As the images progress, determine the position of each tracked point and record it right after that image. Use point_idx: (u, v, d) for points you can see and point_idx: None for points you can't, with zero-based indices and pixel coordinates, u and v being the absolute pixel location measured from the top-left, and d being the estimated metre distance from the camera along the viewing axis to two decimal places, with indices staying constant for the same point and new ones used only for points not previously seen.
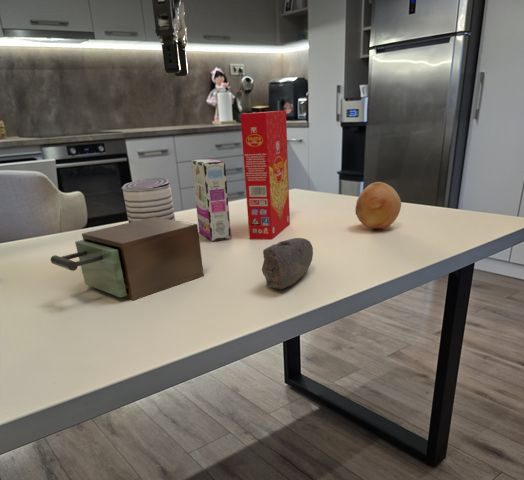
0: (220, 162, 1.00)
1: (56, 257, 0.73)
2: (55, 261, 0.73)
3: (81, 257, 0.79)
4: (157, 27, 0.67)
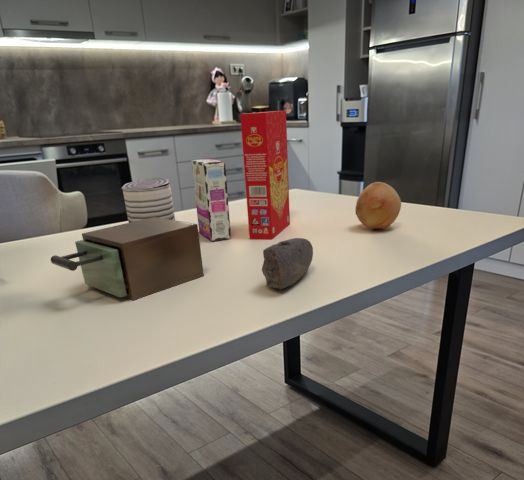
0: (220, 162, 1.00)
1: (56, 257, 0.73)
2: (55, 261, 0.73)
3: (81, 257, 0.79)
4: None
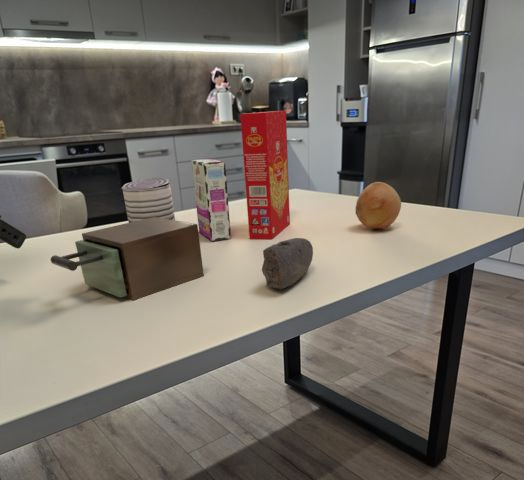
0: (220, 162, 1.00)
1: (56, 257, 0.73)
2: (55, 261, 0.73)
3: (81, 257, 0.79)
4: None
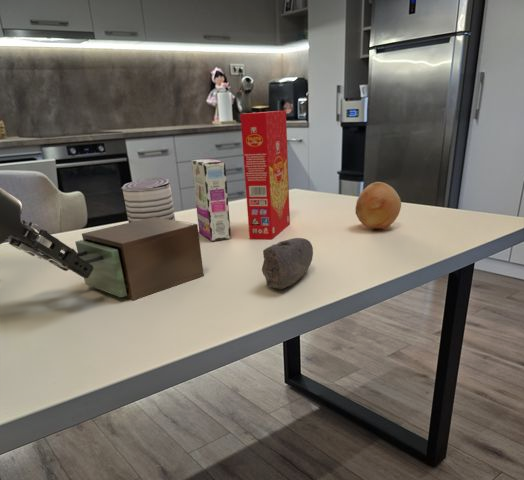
0: (220, 162, 1.00)
1: None
2: None
3: (81, 257, 0.79)
4: None
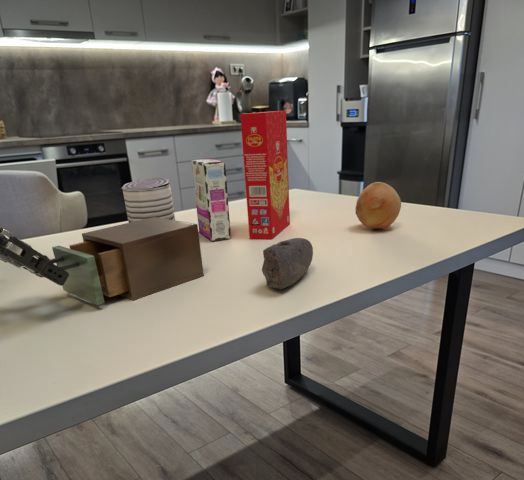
0: (220, 162, 1.00)
1: (31, 263, 0.71)
2: None
3: (58, 263, 0.77)
4: None
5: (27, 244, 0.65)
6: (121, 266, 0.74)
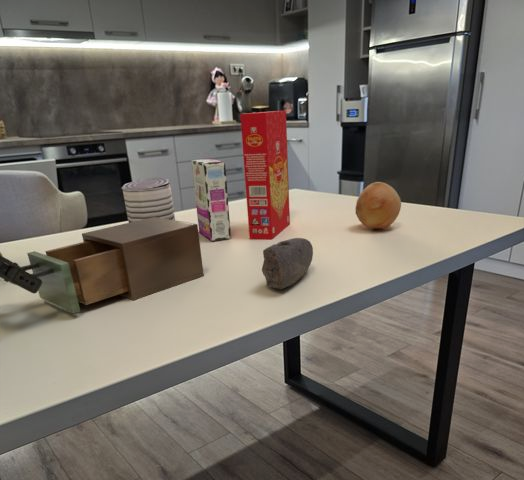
0: (220, 162, 1.00)
1: (3, 270, 0.68)
2: None
3: (34, 270, 0.74)
4: None
5: None
6: (98, 273, 0.71)
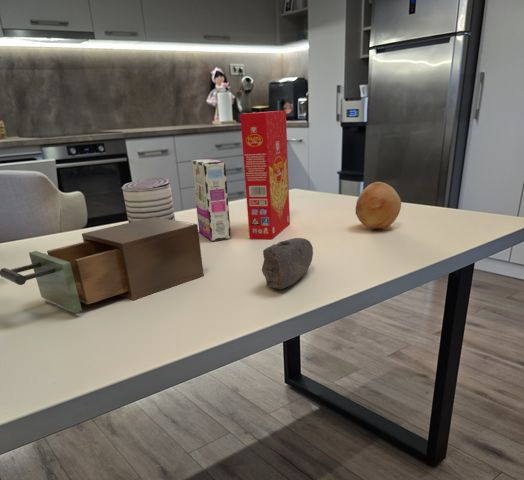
0: (220, 162, 1.00)
1: (5, 270, 0.68)
2: (4, 275, 0.68)
3: (35, 269, 0.74)
4: None
5: None
6: (99, 272, 0.72)
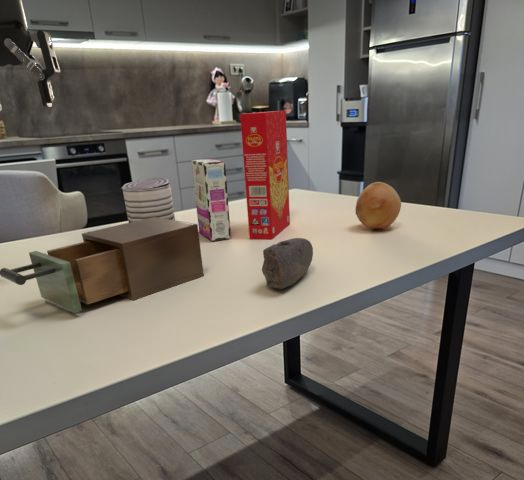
0: (220, 162, 1.00)
1: (5, 270, 0.68)
2: (4, 275, 0.68)
3: (35, 269, 0.74)
4: None
5: None
6: (99, 272, 0.72)
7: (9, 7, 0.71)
